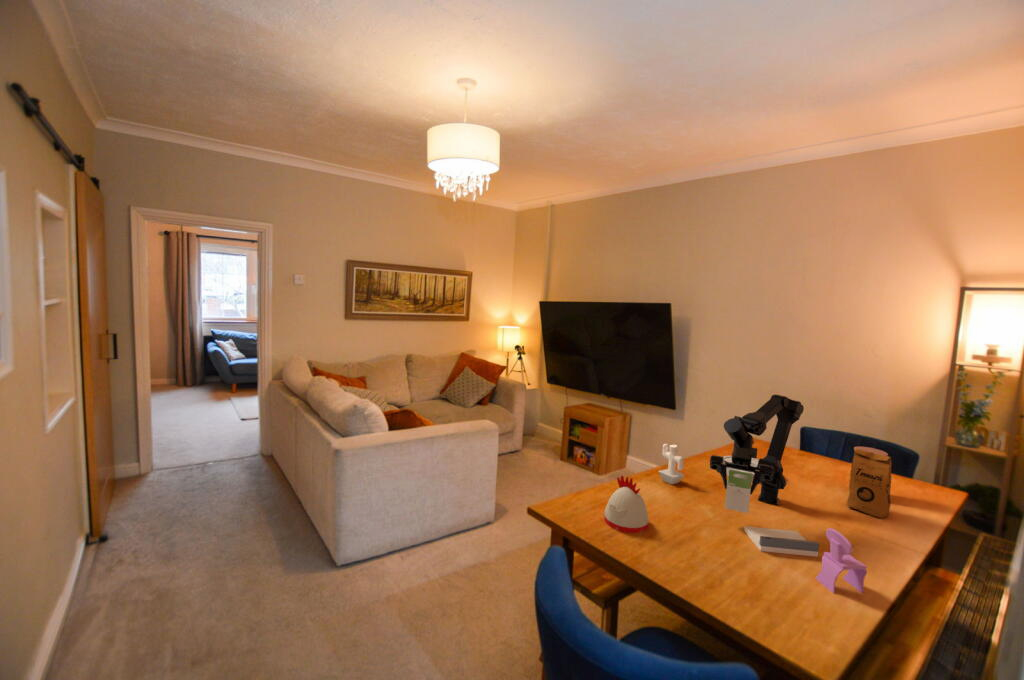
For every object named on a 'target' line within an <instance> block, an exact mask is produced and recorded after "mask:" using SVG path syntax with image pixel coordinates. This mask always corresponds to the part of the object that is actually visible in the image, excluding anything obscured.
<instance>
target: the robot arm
mask: <svg viewBox="0 0 1024 680" xmlns="http://www.w3.org/2000/svg"><path fill="white" fill-rule="evenodd" d="M804 409H805V408H804V405H803V404H802V402H801V401H799V400H794V399H791V398H790V397H787V396H784V395H782V394H781V395H780V394H776V393H775V394H771V396H770V399H769V400H767V401H766V402H765V403H764V404H763V405H762V406H760V408H758V409H757V410H756V411H754V412H748V413H747V414H745V415H743V416H742V417H741V416H739V415H738V416H737V415H734V417H733V418H729V419H727V420H725V422H724V423H723V429H724V431H725V432H726V434H727V435H728V436H729V438H730V439H731V440H732V441H733V448H732V453H731V456H732V462H727V461H725V460H723V457H724V456H720V455H715V454H711V456H710V458H709V469H711V470H715V471H716V473H719V474H720V477H721V480H722V483H723V486H724V489H725V490H726V489H727V479H728V476H727V468H732V469H737V470H743V471H748V472H753V473H755V474H754V478H753V482H752V483H751V492H750V496H751V495H752V494H753V493H754V492H755V489H756V488H757V486H758V485H759V482H760V483H762V484H761V485H760V486H761V487H760V493H759V495H758V498H757V501H760V502H762V503H763V502H764V503H768V504H772V505H775V506H778V505H779V503H780V502H779V501H780V498H779V490H785V488H786V485H787V481H786V479H785V477H784V475H783V472H784V468H783V464H782V462H781V461H782V458H783V456H784V452H785V449H786V445H787V442H788V439H789V436H790V432H791V429H792V426H793V425H794V424H795V423H796V422H797V421H799V420H800V417H801V416H802V414H803V413H804ZM775 416H776V418H777V421H776V425H775V427H774V431H773V434H772V437H771V441H770V443H769V446H768V450H767V453H766V454H765V456H764V457H763V458H762V457H761V458H759V459H758V457H757V456H758V448H757V447H753V445H754V444H755V442H754V437H753V435H755V436H757V437H758V436H762V435H763V434H764V433H765V431H766V430H767V428H768V427H767V424H768V422H770V421H771V420H772V418H774V417H775ZM752 458H754V459H758V460H759V461H758V465H757V467H753V466H751V460H752Z"/></svg>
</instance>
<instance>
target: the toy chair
mask: <svg viewBox="0 0 1024 680" xmlns="http://www.w3.org/2000/svg"><path fill="white" fill-rule="evenodd" d="M825 535H826V538H827V540H828V541H829V544H830V552H829V551H823V555H822V558H821V569H820V572H819V573H818V574H817V575H816V577H815V580H817V581H818V582H819V583H820V584H821V585H823V586H824V587H825V588H826V589H827V590H828V591H829V592H831V593H832V594H835V592H836V590H835V588H836V580H837V578H838V577H839V575H840V574H841V573H842V572H843V571H846V570H847V572H846V574H845V575H844V577H842V579H843V580H844V581H845V582H847V583H848V584H849V585H851V587H853V588H855V589H856V590H858V592H859V593H861V594H864V592H865V591H864V587H865V586H864V585H865V584H864V582H865V578H866V575H867V573H868V570H867V565H865V564H864V563H862V562H860V561H859V560H858V559H856V558H855V557H854V556H852V555H851V554H852V553H853V545H852V543H851V541H850V540H849V539H847V537H845V536H844V535H843V534H842V533H841V532H839V531H838V530H836V529H834V528H830V527H829V528H827V529H826V532H825Z"/></svg>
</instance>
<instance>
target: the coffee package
mask: <svg viewBox="0 0 1024 680" xmlns="http://www.w3.org/2000/svg"><path fill="white" fill-rule="evenodd" d="M854 453H855V455H854V459H853V458H852V459H853V464H852V463H851V467H852V469H850V472H849V473H850V474H849V475H850V476H849V483H850V484H848V491H849V493H848V497H847V501H846V507H849V508H852V509H855V510H857V511H859V512H862V513H865V514H867V515H870V516H873V517H875V518H879V519H882V520H884V518H886V517H889V515H890V509H891V501H892V498H891V487H892V486H891V485H892V457H891V456H889V455H888V456H884V455H880V454H876V453H872V452H868V451H864V450H860V449H855V451H854ZM849 485H850V486H849Z"/></svg>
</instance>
